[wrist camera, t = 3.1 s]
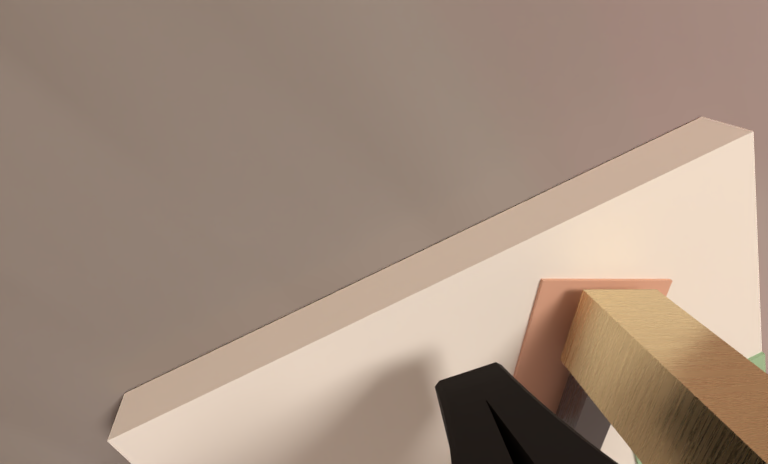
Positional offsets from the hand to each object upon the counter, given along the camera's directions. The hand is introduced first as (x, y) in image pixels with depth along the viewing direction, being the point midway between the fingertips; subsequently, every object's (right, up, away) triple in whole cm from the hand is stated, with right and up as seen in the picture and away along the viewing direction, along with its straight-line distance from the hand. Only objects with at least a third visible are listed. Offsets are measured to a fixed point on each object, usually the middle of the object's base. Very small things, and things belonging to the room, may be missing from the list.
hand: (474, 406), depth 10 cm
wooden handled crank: (+3, -2, +3) cm, 5 cm away
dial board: (+2, -4, +6) cm, 8 cm away
